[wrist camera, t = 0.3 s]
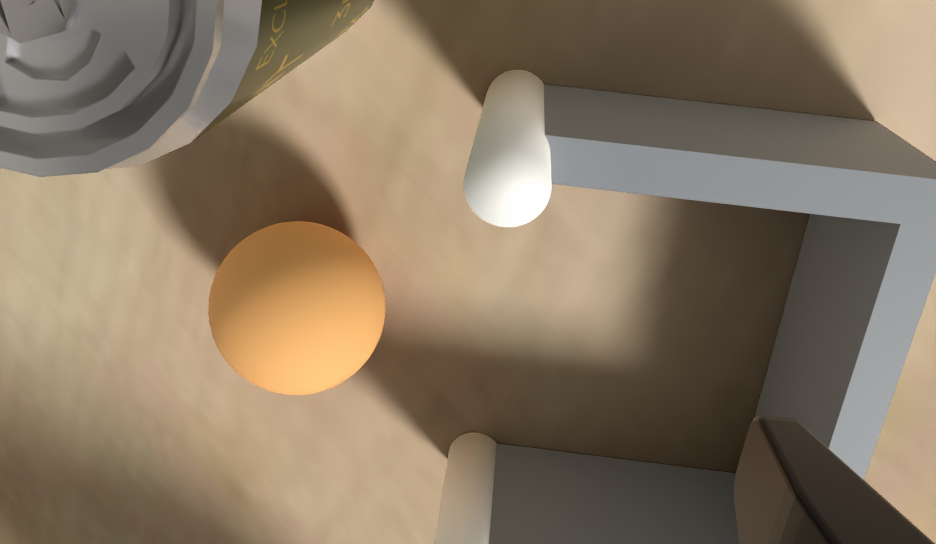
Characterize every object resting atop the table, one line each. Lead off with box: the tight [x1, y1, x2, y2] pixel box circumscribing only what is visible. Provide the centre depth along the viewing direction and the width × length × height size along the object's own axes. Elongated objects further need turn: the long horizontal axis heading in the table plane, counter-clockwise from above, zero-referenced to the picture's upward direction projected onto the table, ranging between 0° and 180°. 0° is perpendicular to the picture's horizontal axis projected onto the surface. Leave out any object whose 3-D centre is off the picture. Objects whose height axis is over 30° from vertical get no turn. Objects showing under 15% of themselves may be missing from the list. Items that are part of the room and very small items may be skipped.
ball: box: [208, 221, 385, 395], centre depth 22 cm, size 4×4×4 cm
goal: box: [434, 69, 936, 544], centre depth 21 cm, size 13×10×7 cm
